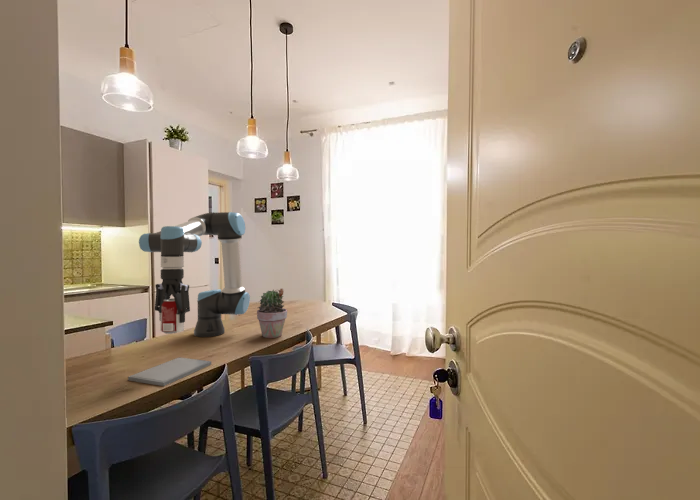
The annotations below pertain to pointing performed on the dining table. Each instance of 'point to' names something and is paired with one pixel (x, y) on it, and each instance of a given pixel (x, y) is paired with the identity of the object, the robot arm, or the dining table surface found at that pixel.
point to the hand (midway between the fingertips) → (172, 330)
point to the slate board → (169, 371)
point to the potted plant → (271, 314)
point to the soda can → (169, 316)
